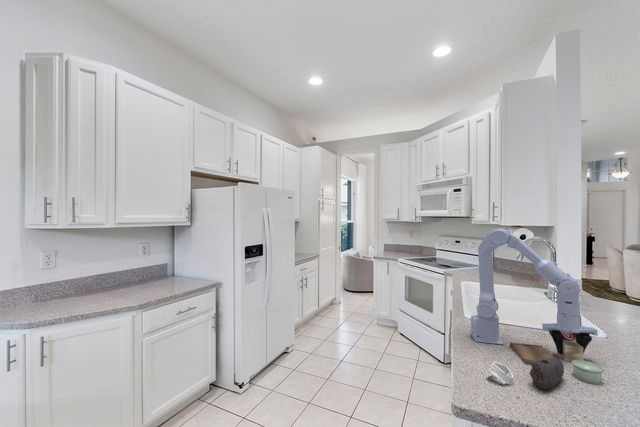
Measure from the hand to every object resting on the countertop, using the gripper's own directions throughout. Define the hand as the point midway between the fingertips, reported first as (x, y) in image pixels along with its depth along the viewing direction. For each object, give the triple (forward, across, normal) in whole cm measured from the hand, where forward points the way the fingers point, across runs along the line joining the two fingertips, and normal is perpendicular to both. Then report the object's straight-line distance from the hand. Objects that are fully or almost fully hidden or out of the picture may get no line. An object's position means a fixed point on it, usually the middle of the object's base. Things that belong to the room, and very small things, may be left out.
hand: (569, 353), depth 93 cm
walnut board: (+1, -11, -2) cm, 11 cm away
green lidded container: (+2, -2, -13) cm, 13 cm away
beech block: (+1, 0, 0) cm, 1 cm away
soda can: (+2, +8, +17) cm, 19 cm away
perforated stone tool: (+2, -14, -19) cm, 24 cm away
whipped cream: (+2, -27, -20) cm, 34 cm away
